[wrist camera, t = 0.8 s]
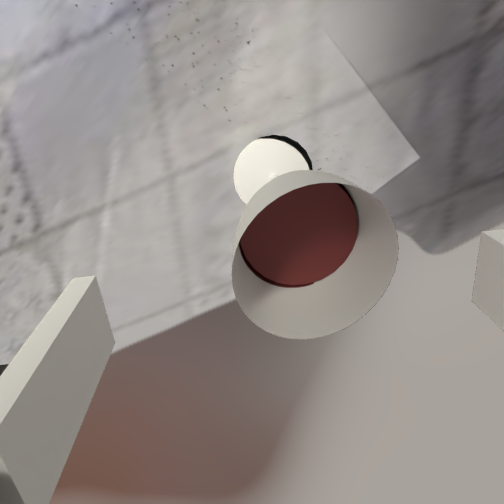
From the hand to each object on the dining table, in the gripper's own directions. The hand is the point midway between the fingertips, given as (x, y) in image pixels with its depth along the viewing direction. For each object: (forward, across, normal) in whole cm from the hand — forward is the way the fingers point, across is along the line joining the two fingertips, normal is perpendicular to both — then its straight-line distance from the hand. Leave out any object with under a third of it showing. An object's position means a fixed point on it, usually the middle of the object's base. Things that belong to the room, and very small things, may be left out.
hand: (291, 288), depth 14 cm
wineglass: (+30, +2, -3) cm, 30 cm away
